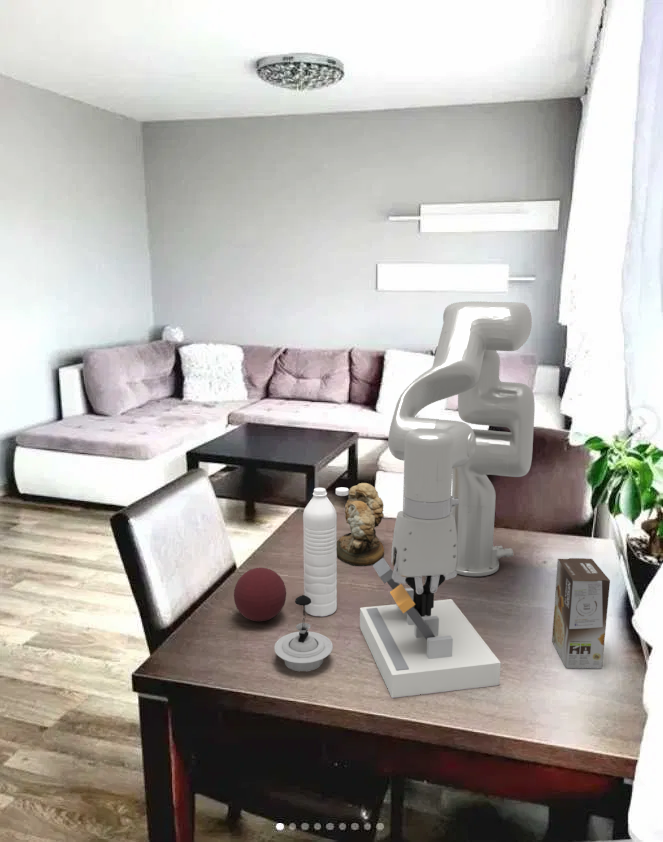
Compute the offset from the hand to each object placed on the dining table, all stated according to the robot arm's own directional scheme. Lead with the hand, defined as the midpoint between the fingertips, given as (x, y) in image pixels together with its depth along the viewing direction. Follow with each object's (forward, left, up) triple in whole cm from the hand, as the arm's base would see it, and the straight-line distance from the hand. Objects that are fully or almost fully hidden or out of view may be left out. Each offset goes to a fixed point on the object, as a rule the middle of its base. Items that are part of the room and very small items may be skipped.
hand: (423, 612), depth 111 cm
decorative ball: (+25, -22, -11) cm, 35 cm away
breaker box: (-2, -4, -11) cm, 12 cm away
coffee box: (-28, +1, -11) cm, 30 cm away
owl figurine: (-1, -50, -11) cm, 52 cm away
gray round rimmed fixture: (+19, -6, -11) cm, 23 cm away
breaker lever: (-2, 0, -6) cm, 6 cm away
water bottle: (+12, -23, -11) cm, 28 cm away
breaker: (-2, -11, -6) cm, 13 cm away
